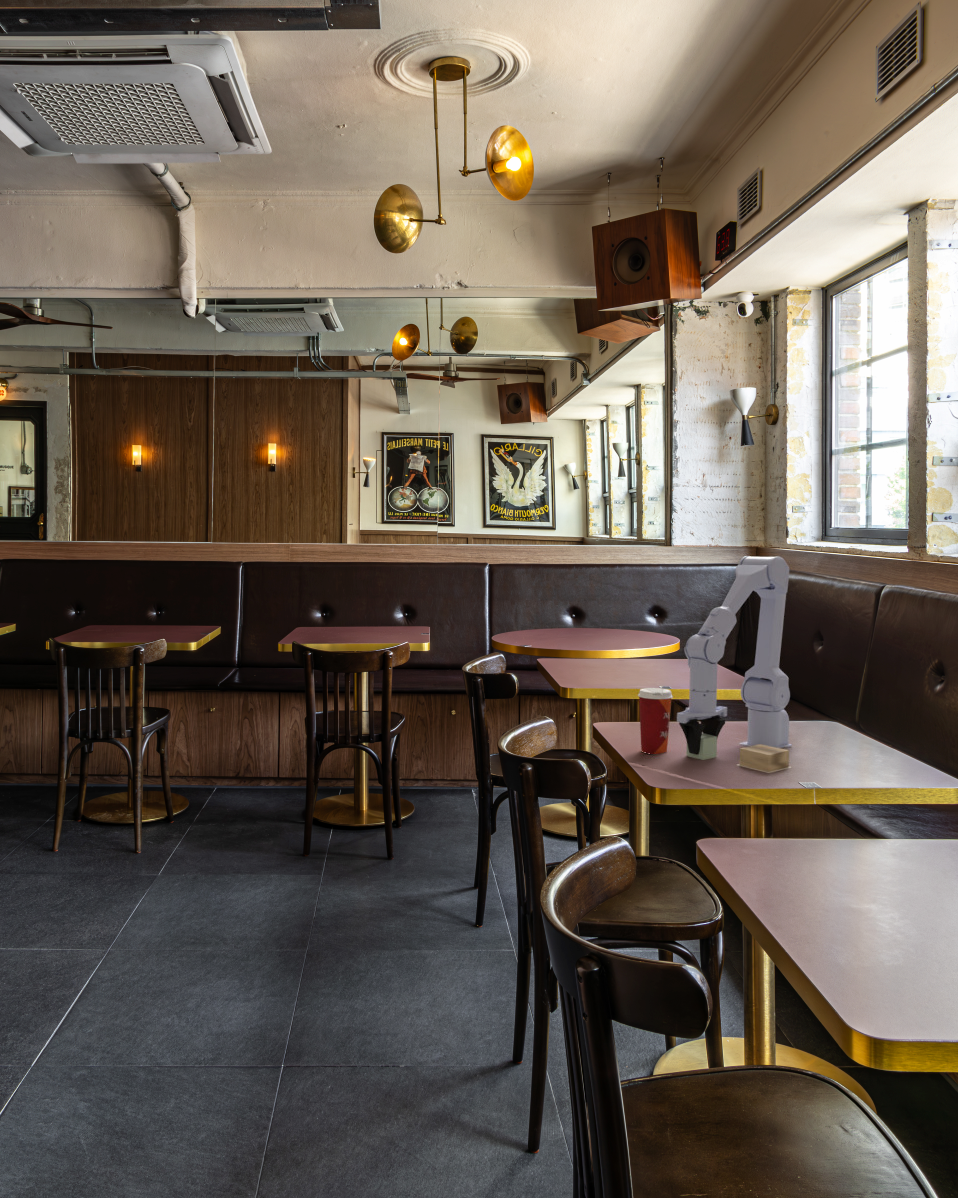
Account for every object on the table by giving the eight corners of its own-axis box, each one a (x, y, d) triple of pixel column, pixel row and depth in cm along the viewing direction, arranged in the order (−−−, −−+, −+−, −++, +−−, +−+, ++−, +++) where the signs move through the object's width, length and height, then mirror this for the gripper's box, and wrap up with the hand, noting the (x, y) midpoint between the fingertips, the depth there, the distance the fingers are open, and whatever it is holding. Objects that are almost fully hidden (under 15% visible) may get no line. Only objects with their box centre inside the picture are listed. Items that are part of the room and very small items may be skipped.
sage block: (699, 755, 193) (700, 732, 192) (716, 759, 189) (716, 736, 189) (686, 758, 190) (686, 735, 190) (703, 762, 186) (703, 739, 186)
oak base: (759, 760, 186) (760, 744, 186) (788, 767, 181) (789, 750, 181) (739, 765, 182) (739, 748, 182) (768, 772, 177) (768, 755, 176)
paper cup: (674, 756, 191) (676, 693, 190) (639, 756, 191) (640, 692, 190) (667, 748, 199) (669, 687, 198) (634, 747, 199) (635, 687, 198)
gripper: (709, 684, 196) (707, 744, 197) (666, 690, 188) (665, 752, 188) (735, 689, 191) (733, 750, 191) (692, 695, 182) (690, 759, 183)
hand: (701, 752), depth 189 cm, fingers closed on sage block, 4 cm apart
